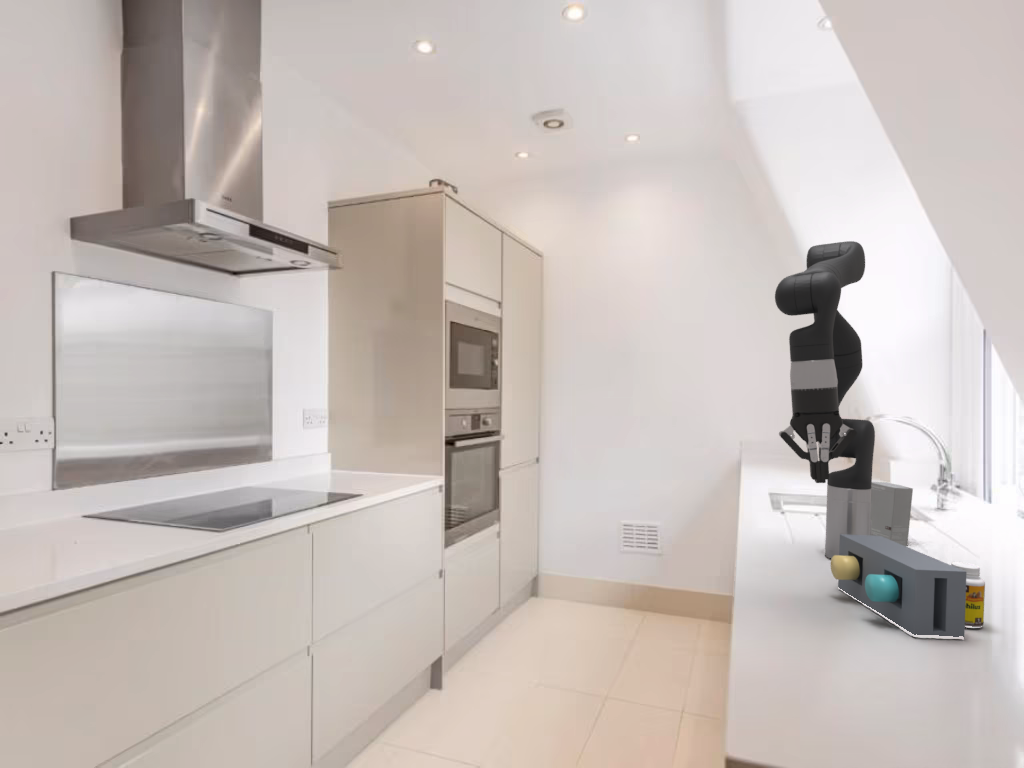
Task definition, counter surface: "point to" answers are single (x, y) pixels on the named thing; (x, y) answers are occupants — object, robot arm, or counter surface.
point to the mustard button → (845, 567)
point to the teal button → (881, 588)
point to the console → (909, 585)
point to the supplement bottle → (973, 594)
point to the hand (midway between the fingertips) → (819, 482)
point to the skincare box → (891, 511)
